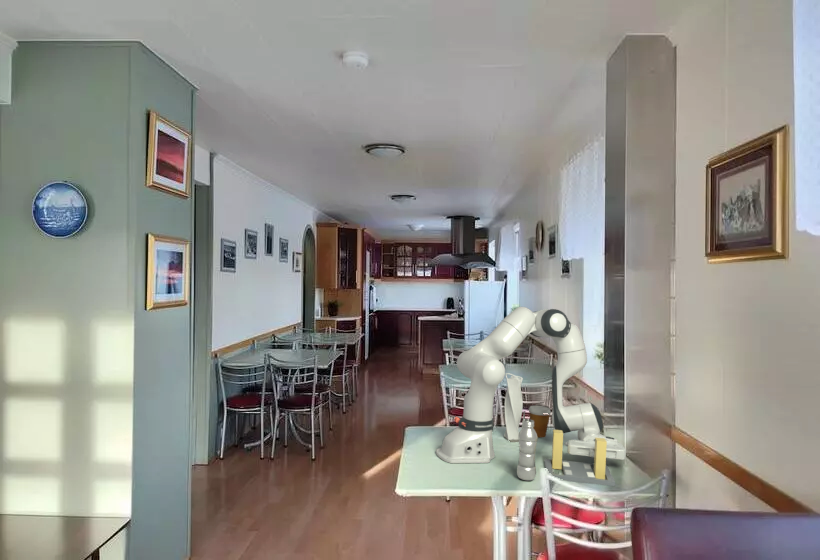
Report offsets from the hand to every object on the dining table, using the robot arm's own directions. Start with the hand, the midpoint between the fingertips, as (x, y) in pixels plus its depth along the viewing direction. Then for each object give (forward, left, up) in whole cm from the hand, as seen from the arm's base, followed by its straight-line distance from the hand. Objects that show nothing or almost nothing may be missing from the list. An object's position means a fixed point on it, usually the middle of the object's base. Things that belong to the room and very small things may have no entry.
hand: (599, 456), depth 187 cm
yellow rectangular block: (-11, +10, -7) cm, 16 cm away
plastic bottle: (-27, +3, -7) cm, 28 cm away
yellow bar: (-1, -2, -7) cm, 7 cm away
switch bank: (-6, +3, -7) cm, 10 cm away
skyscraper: (-9, +43, -7) cm, 44 cm away
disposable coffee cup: (+4, +45, -7) cm, 46 cm away
